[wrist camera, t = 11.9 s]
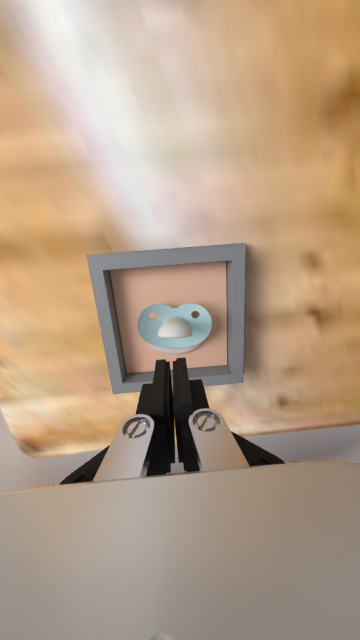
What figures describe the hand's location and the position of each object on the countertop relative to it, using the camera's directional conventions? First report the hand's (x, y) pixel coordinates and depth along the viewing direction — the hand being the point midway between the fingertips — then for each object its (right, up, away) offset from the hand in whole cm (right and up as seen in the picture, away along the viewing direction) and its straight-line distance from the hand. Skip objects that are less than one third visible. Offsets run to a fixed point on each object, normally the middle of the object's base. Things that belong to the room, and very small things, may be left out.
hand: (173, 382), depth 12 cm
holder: (0, +4, +12) cm, 13 cm away
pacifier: (0, +3, +12) cm, 12 cm away
